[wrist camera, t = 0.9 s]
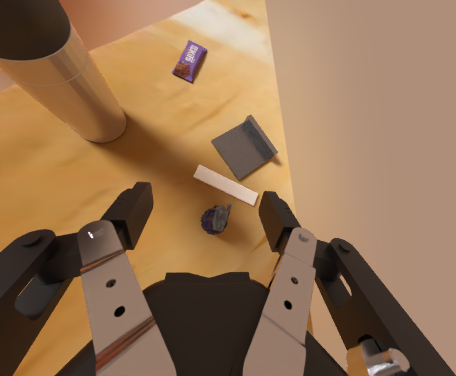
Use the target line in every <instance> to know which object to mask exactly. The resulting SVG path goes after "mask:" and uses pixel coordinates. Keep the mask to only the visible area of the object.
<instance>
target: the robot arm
mask: <svg viewBox="0 0 456 376" xmlns="http://www.w3.org/2000/svg"><path fill="white" fill-rule="evenodd" d="M0 71H1V72H3V73H4V74H5V75H6V76H8V77H9V78H10V79H11V80H12V81H14V82H15V83H16V84H17V85H19V86H20V87H21V88H22V89H23V90H25V91H26V92H27V93H28V94H30V95H31V96H32V97H33V98H35V99H36V100H37V101H38V102H40V103H41V104H42V105H43V106H44V107H46V108H47V109H48V110H49V111H51V112H52V113H53V114H54V115H56V116H57V117H58V118H59V119H61V120H62V121H63V122H64V123H65V124H67V125H68V126H69V127H70V128H71V129H73V130H74V131H75V132H76V133H78V134H79V135H80V136H81V137H83V138H85V139H86V140H89V141H92V142H97V143H104V142H109V141H112V140H115V139H116V138H118V137H119V136H120V135H122V133H123V132H124V131H125V128H126V124H127V121H126V117H125V114H124V113H123V111H122V109H121V107H120V106H119V104H118V102H117V100H116V99H115V97H114V95H113V93H112V92H111V90H110V88H109V87H108V85H107V83H106V81H105V80H104V78H103V76H102V74H101V73H100V71H99V69H98V68H97V66H96V64H95V62H94V61H93V59H92V57H91V56H90V54H89V52H88V50H87V49H86V47H85V45H84V43H83V42H82V40H81V39H80V37H79V35H78V34H77V32H76V30H75V28H74V27H73V25H72V23H71V21H70V20H69V18H68V16H67V14H66V12H65V11H64V9H63V7H62V6H61V4H60V2H59V0H0ZM152 209H153V194H152V187H151V183H149V182H137V183H136V184H135V185H134V187H133V188H132V189H127V190H125V191H123V192H122V193H121V194H120V195H119V196H118V197H117V199H116V200H115V201H114V202H113V204H112V205H111V206H110V208H109V209H108V210H107V211H106V213H105V214H104V215H103V216H102V218H101V219H100V220H98V221H94V222H91V223H89V224H87V225H85V226H84V227H82V228H81V229H80V230H79V232H77V233H72V234H67V235H62V236H56V235H55V233H54V232H53V231H51V230H47V229H43V230H36V231H33V232H29V233H27V234H25V235H22V236H21V237H19V238H17V239H16V240H14V241H13V242H12V243H11V244H9V245H8V246H7V247H6V248H5V249H4V250H3V251H1V252H0V376H13V374H14V372H15V371H16V369H17V368H18V366H19V365H20V363H21V361H22V360H23V358H24V357H25V355H26V353H27V352H28V350H29V349H30V347H31V345H32V344H33V342H34V341H35V339H36V337H37V336H38V334H39V333H40V331H41V329H42V328H43V326H44V325H45V323H46V321H47V320H48V318H49V317H50V315H51V313H52V312H53V310H54V309H55V307H56V306H57V304H58V302H59V301H60V299H61V298H62V296H63V294H64V293H65V291H66V290H67V288H68V286H69V285H70V283H71V282H72V280H73V278H74V277H78V276H81V279H82V285H83V290H84V295H85V301H86V306H87V312H88V317H89V323H90V328H91V333H92V340H91V341H90V342H89V343H88V344H87V345H86V346H85V347H84V348H83V349H82V350H80V351H79V352H78V353H77V354H76V355H75V356H74V357H73V358H72V359H71V360H70V361H69V362H68V363H67V364H66V365H65V366H64V367H63V368H62V369H61V370H60V371H59V372H58V373H57V374H56V375H55V376H456V375H455V374H454V372H453V371H452V370H451V369H450V367H449V366H448V365H447V364H446V362H445V361H444V360H443V359H442V357H441V356H440V355H439V354H438V352H437V351H436V350H435V348H434V347H433V346H432V345H431V343H430V342H429V341H428V340H427V339H426V337H425V336H424V335H423V333H422V332H421V331H420V329H419V328H418V327H417V326H416V324H415V323H414V322H413V321H412V319H411V318H410V317H409V316H408V314H407V313H406V312H405V311H404V309H403V308H402V307H401V306H400V304H399V303H398V302H397V300H396V299H395V298H394V297H393V295H392V294H391V293H390V292H389V290H388V289H387V288H386V287H385V285H384V284H383V283H382V281H381V280H380V279H379V278H378V276H377V275H376V274H375V273H374V271H373V270H372V269H371V268H370V266H369V265H368V264H367V263H366V261H365V260H364V259H363V257H362V256H361V255H360V254H359V252H358V251H357V250H356V249H355V248H354V247H353V246H352V245H351V244H350V243H348V242H346V241H345V240H343V239H339V238H334V239H332V240H331V242H330V243H327V242H324V241H320V240H317V239H316V238H315V236H314V235H313V234H312V233H311V232H310V231H308V230H307V229H304V228H302V227H301V226H300V224H299V223H298V221H297V219H296V218H295V216H294V214H292V211H291V209H290V208H289V206H288V204H287V203H286V202H285V201H284V200H282V199H279V197H278V195H277V194H276V192H272V191H265V192H264V193H263V196H262V199H261V202H260V206H259V216H260V219H261V222H262V225H263V228H264V230H265V233H266V236H267V239H268V242H269V245H270V248H271V250H272V252H279V255H280V256H279V258H278V260H277V262H276V265H275V267H274V270H273V272H272V274H271V277H270V279H269V282H268V284H267V286H266V287H265V286H264V285H262V284H261V283H259V282H257V281H255V280H252V279H250V277H249V272H229V273H225V274H222V275H218V276H215V277H211V278H207V277H203V276H199V275H195V274H191V273H166V277H165V280H161V281H159V282H156V283H154V284H152V285H150V286H149V287H147V288H146V289H144V290H143V291H142V290H141V288H140V285H139V283H138V281H137V278H136V276H135V274H134V271H133V269H132V267H131V264H130V262H129V260H128V257H127V255H126V253H125V252H126V250H134V248H135V246H136V244H137V242H138V240H139V237H140V235H141V233H142V231H143V229H144V226H145V224H146V222H147V220H148V218H149V216H150V213H151V211H152ZM341 275H342V276H343V277H344V279H345V280H346V282H347V284H348V285H349V287H350V289H351V293H352V296H350V294H349V292H348V291H347V289H346V287H345V286H344V284H343V282H342V281H341V279H340V276H341ZM32 278H33V279H32ZM31 279H32V280H31ZM30 280H31V282H30ZM314 280H315V282H316V284H317V286H318V288H319V290H320V293H321V295H322V297H323V299H324V301H325V303H326V306H327V308H328V310H329V312H330V314H331V316H332V319H333V321H334V323H335V325H336V327H337V329H338V332H339V334H340V336H341V338H342V340H343V343H344V344H345V347H346V349H347V356H346V358H347V364H348V367H347V373H348V374H347V373H346V372H345V371H344V370H343V368H342V367H341V366H340V365H339V364H338V363H337V362H336V361H335V360H334V359H333V358H332V357H331V356H330V354H328V353H327V351H326V350H325V349H324V348H323V347H322V346H321V345H320V344H319V343H318V342H317V341H316V340H315V338H314V337H313V336H312V335H311V334H310V333H309V332H308V331H307V323H308V317H309V311H310V304H311V298H312V291H313V285H314ZM29 282H30V283H29ZM28 283H29V284H28ZM27 284H28V285H27ZM26 285H27V286H26ZM25 286H26V288H25ZM24 288H25V289H24ZM23 289H24V290H23ZM22 290H23V291H22ZM21 291H22V292H21ZM20 292H21V294H20ZM19 294H20V295H19ZM18 295H19V296H18ZM16 298H17V299H16Z"/></svg>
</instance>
